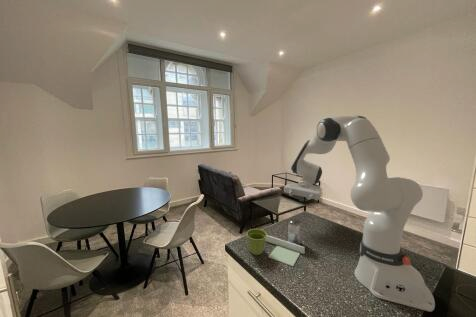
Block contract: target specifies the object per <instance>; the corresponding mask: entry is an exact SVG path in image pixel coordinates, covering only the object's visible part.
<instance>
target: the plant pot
mask: <svg viewBox="0 0 476 317" xmlns="http://www.w3.org/2000/svg"><path fill="white" fill-rule="evenodd" d="M267 235H268V233H267V232H266V231H265V230H263V229H260V228H251V229H249V230H247V232H246V237H247V239H248V247H249V252H250V253H251V254H252V255H255V256H260V255H262V254H263V253H264V247H265V243H266V241H265V239H266V237H267Z"/></svg>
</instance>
